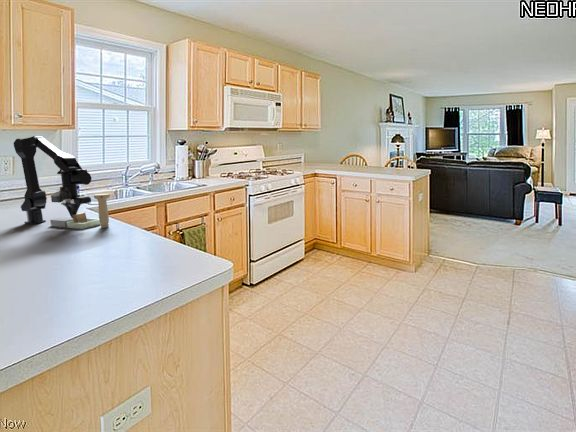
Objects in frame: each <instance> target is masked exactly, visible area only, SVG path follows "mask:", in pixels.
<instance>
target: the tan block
mask: <svg viewBox="0 0 576 432" xmlns="http://www.w3.org/2000/svg"><path fill="white" fill-rule="evenodd" d="M72 216H73V221H74V223H86V222H87V219H86V218H87V215H86V212H80V213H76V214H74V215H72Z"/></svg>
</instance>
